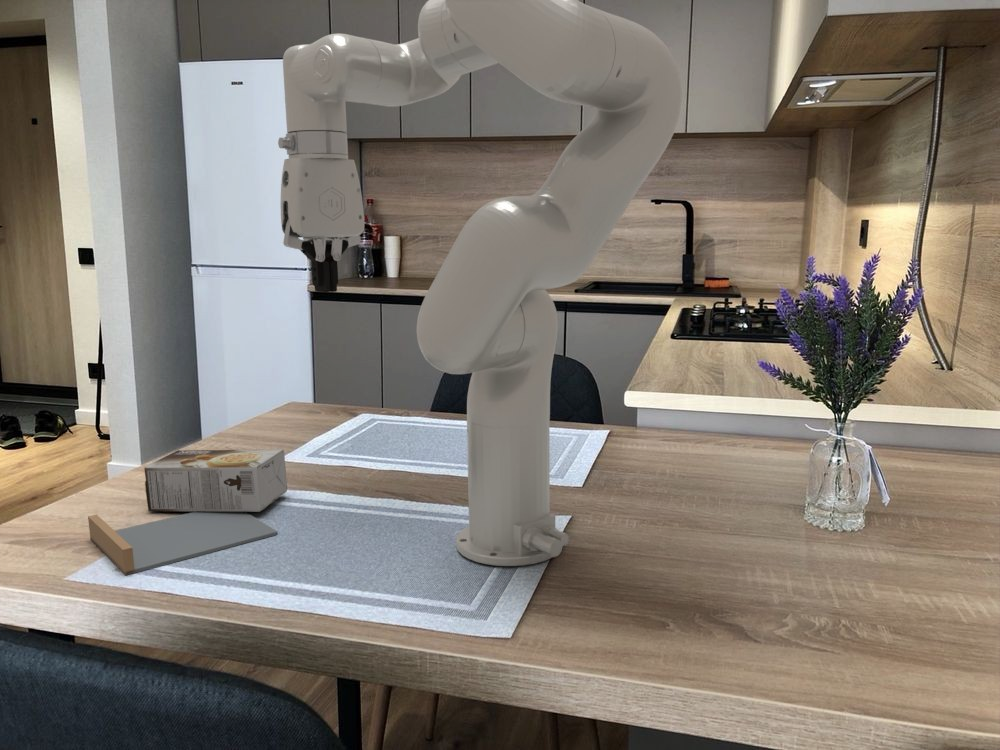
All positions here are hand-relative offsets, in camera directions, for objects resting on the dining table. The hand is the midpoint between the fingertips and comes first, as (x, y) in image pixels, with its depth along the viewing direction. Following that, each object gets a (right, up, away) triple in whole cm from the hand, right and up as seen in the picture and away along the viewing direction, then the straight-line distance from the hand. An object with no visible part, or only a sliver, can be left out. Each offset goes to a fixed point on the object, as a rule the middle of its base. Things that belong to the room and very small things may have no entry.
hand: (325, 291), depth 111 cm
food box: (-7, -25, +2) cm, 26 cm away
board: (-16, -31, -8) cm, 36 cm away
